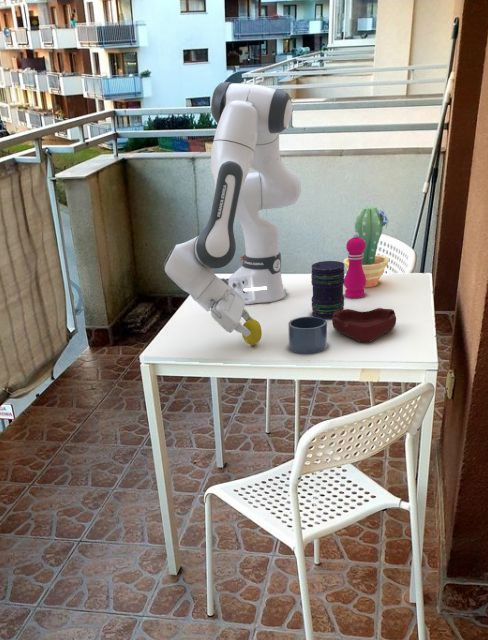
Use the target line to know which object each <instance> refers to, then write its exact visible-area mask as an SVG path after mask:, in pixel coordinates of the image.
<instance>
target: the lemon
mask: <svg viewBox="0 0 488 640" xmlns="http://www.w3.org/2000/svg"><path fill="white" fill-rule="evenodd" d="M252 318H253V317H252ZM252 318H250V319H249V320H247V321H245V322H244V323H242V325H243V326H244V327H246V328H248V329H249V330H251V334H250V335H249V336H248V337H245V336H244V335H243V334H242V333H241V336H242V339H243V341H244V342H245V343H246V344H248V345H250V346H251V347H254V346H255V345H256V344H258V343H259V342H260V341H261V339H262V335H263V331H262V326H261V324H260V322H259V321H258V320H256V319H255V318H253V319H252Z"/></svg>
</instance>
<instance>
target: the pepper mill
mask: <svg viewBox="0 0 488 640" xmlns="http://www.w3.org/2000/svg"><path fill="white" fill-rule="evenodd" d="M352 236H353V237H351V238H349V240H347V242H346V247H345V248H346V251H347V252H348V253H347V258H348V259H349V268H348V271H347V270H346V273H345V277H344V280H345V281H344V284H343V287H345V290H344V297H346V298H348V299H360V298H363V297H364V296H365V289H364V288H365V287H364V286H365V285H366V277H365V274H364V271H363V268H362V258H363V257H364V256H363V255H364V253H363V251H364V249H365V241H364V240H363V239H362V238H359V234H358V233H357V232H356V233H355V232H354V233H353V234H352Z"/></svg>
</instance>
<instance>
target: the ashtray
mask: <svg viewBox="0 0 488 640" xmlns="http://www.w3.org/2000/svg"><path fill="white" fill-rule="evenodd" d="M331 324H332V327H333V329H334V330H335V331H336V332H337V333H339V334H342V335H345V336H347V337H349V338H351V339H353V340H354V341H358V342H359V343H362V344H367V343H370V342H371V341H373V340H375V339H377V338H379V337H380V336H383V334H385V333H388V332H390V331H392V330H393V329H394V328H395V327H396V325H397V316H396V312H395V310H394V309H392V308H382V307H377V308H374V309H371V310H367V311H358V310H355V309H350V308H344V309H343V310H340V311H335V312H334V313H333V317H332V319H331Z"/></svg>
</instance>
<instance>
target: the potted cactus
mask: <svg viewBox="0 0 488 640" xmlns="http://www.w3.org/2000/svg"><path fill="white" fill-rule="evenodd" d="M388 225H389V218H388V216H387V214H386V213H385V211H384V210H382V209H378V207H376V206H372V205H370V206H363V208H362V209H361V210H360V211H359V213H358V214H357V216H356V218H355V219H354V233H356V232H357V233H358V234H359V238H362V239H363V240H364V241H365V249H364V251H363V253H364V255H363V256H364V257H363V258H362V268H363V271H364V274H365V277H366V285H365V286H364V287H363V288H373V287H375V286H376V287H377V286H378V285H379V280H380V278H381V277H382V276H383V274H384V272H385V269H386V267H388V264H389V260H390V258H389V257H387V256H385V255H380V254H376V253H377V248H378V244H379V241H380V238H381V236H382V234H383V228H384V227H385V230H387V229H388ZM342 263H344V268H346V272H347V271H348V268H349V259H348V257H346V258H344V259H343V261H342Z"/></svg>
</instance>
